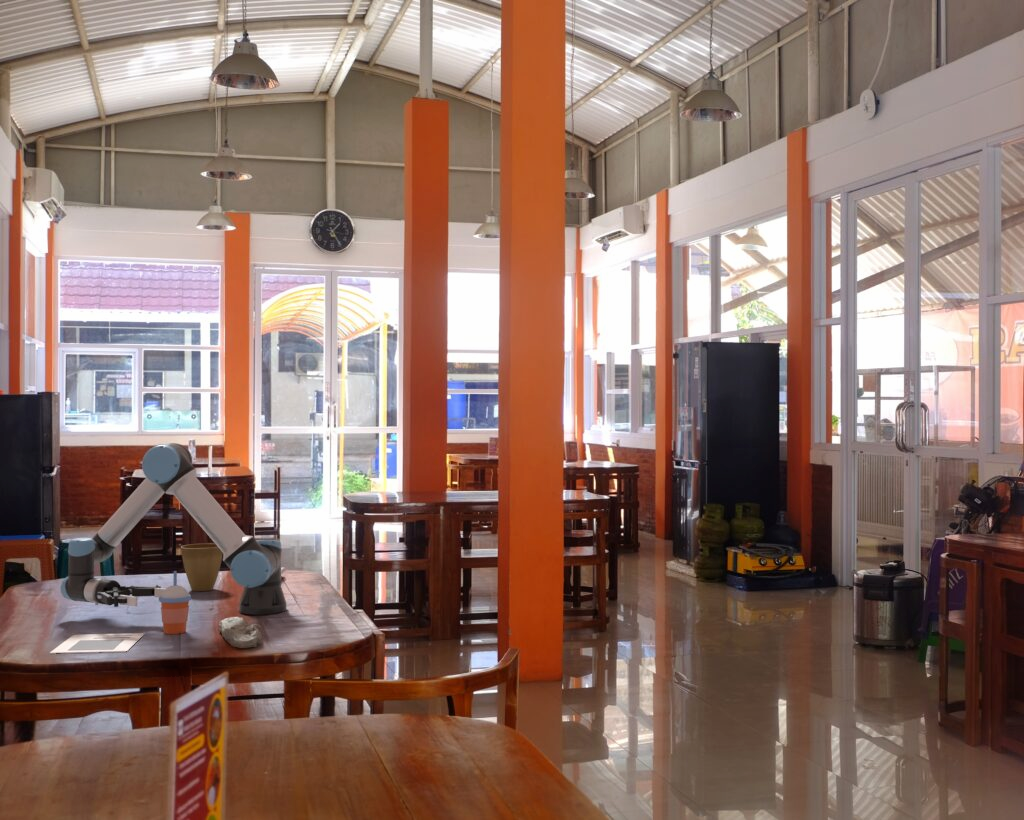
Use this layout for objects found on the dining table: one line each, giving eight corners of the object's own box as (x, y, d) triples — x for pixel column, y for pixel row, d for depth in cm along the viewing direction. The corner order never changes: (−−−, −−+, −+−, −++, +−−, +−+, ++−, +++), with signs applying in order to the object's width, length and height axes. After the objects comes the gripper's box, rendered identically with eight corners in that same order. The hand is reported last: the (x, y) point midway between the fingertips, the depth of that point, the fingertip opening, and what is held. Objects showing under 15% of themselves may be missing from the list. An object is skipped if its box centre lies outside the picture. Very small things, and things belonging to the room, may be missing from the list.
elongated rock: (247, 628, 320) (213, 633, 316) (246, 611, 320) (212, 615, 316) (268, 647, 288) (231, 652, 284) (266, 628, 288) (229, 632, 284)
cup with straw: (181, 636, 302) (181, 574, 302) (152, 634, 304) (152, 572, 304) (196, 629, 311) (196, 569, 311) (168, 628, 313) (169, 568, 313)
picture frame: (145, 634, 305) (145, 632, 305) (126, 651, 283) (126, 650, 283) (73, 635, 302) (73, 634, 302) (49, 653, 280) (49, 652, 280)
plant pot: (232, 588, 380) (232, 544, 380) (200, 594, 367) (201, 549, 367) (203, 584, 388) (203, 541, 388) (171, 590, 375) (171, 546, 375)
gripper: (135, 597, 332) (184, 603, 322) (69, 610, 310) (121, 617, 300) (135, 573, 332) (184, 579, 322) (69, 585, 310) (121, 591, 300)
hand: (154, 597), depth 311 cm, fingers open, 13 cm apart
